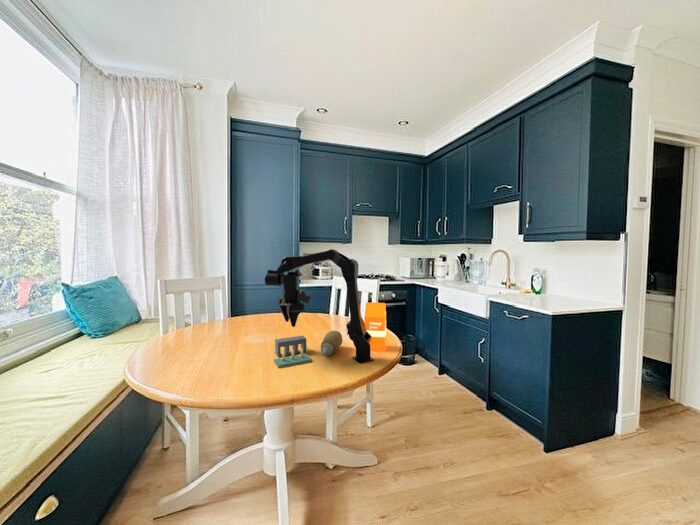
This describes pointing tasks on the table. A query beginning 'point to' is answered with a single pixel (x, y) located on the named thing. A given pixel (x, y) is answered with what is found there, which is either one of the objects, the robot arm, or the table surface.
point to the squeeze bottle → (331, 342)
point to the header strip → (292, 359)
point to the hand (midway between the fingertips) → (290, 324)
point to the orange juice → (376, 325)
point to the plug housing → (288, 342)
